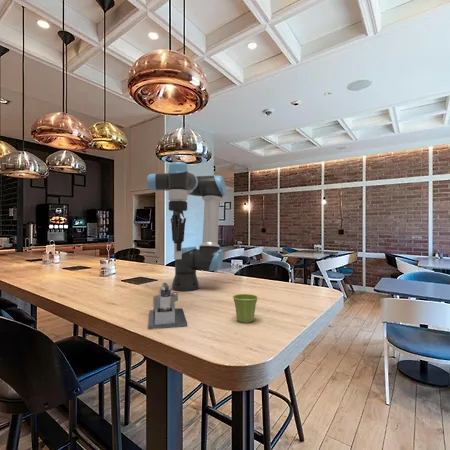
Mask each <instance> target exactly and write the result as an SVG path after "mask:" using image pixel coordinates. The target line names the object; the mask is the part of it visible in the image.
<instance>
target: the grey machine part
mask: <svg viewBox="0 0 450 450" xmlns="http://www.w3.org/2000/svg"><path fill="white" fill-rule="evenodd" d="M163 283H164V282H162V283H161V286H163ZM160 294H161V289H159V290H158V294H156V295H154V296H153V301H152V302H153V304H152V310H153V313H154V314H155V308H160V298H161V296H160ZM178 301H179V291H173V292H171V296H170V307H174V310H175V309H176V308H175V305H176V304H175V303H176V302H178Z"/></svg>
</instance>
